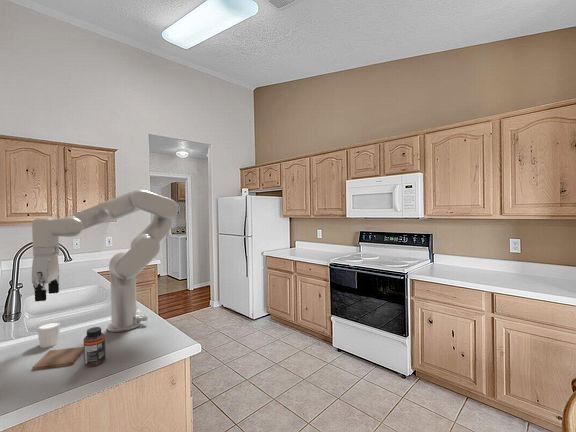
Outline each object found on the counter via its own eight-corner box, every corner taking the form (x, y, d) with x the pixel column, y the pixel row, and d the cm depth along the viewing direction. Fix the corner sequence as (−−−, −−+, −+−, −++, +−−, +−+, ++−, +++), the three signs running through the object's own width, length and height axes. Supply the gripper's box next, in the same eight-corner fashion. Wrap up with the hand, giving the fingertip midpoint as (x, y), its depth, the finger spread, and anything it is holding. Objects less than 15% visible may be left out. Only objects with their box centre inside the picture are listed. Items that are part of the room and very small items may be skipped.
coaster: (85, 349, 107) (85, 346, 107) (72, 364, 97) (72, 361, 97) (49, 353, 104) (49, 350, 104) (32, 370, 94) (32, 366, 94)
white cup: (65, 339, 115) (65, 321, 115) (52, 348, 108) (51, 329, 108) (47, 339, 115) (46, 322, 115) (32, 348, 108) (32, 329, 108)
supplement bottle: (91, 358, 101) (90, 325, 101) (109, 357, 101) (108, 325, 101) (80, 368, 95) (78, 333, 95) (99, 367, 96) (98, 332, 95)
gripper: (45, 248, 117) (47, 291, 118) (20, 255, 101) (21, 305, 101) (68, 247, 119) (69, 289, 120) (46, 254, 103) (47, 303, 104)
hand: (47, 296), depth 111 cm, fingers open, 9 cm apart
